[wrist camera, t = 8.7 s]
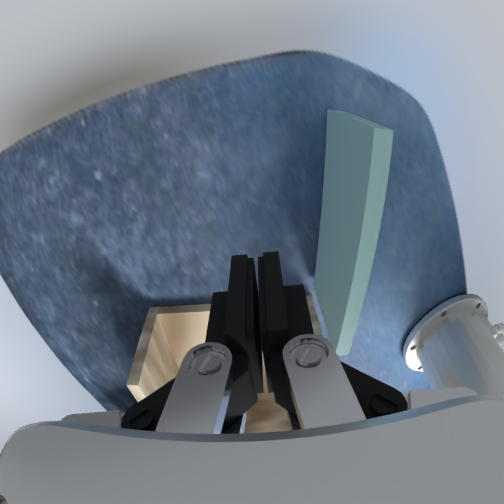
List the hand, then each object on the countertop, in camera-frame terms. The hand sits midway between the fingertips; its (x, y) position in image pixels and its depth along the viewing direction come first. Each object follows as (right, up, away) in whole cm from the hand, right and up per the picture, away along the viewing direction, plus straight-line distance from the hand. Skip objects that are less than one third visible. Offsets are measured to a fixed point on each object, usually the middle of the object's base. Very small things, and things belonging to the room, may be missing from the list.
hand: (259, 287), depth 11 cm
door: (+6, +5, +11) cm, 13 cm away
